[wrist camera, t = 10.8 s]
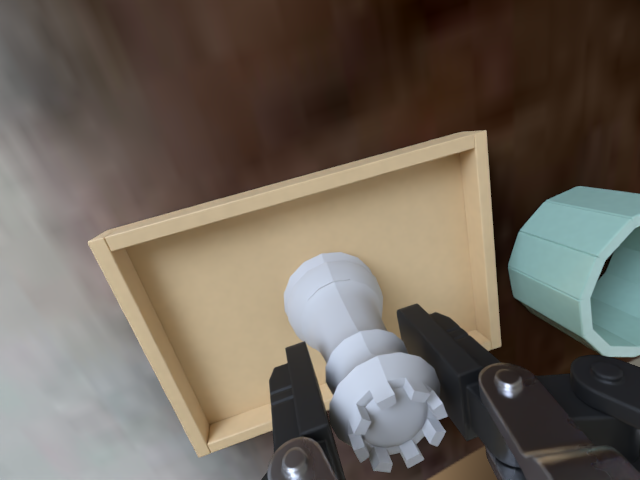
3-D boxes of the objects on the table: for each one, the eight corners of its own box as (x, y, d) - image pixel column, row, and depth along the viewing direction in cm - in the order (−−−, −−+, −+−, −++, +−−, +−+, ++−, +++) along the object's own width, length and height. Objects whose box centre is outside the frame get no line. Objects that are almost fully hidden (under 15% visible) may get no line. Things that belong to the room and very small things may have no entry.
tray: (462, 131, 15) (487, 129, 14) (480, 329, 19) (501, 346, 17) (106, 230, 13) (86, 242, 12) (203, 428, 17) (198, 458, 15)
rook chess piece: (271, 263, 15) (293, 392, 7) (365, 237, 15) (477, 331, 8) (294, 344, 16) (333, 523, 8) (379, 318, 17) (485, 464, 9)
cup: (581, 157, 17) (681, 162, 13) (644, 239, 19) (745, 264, 15) (483, 270, 18) (550, 307, 14) (556, 335, 20) (630, 381, 16)
